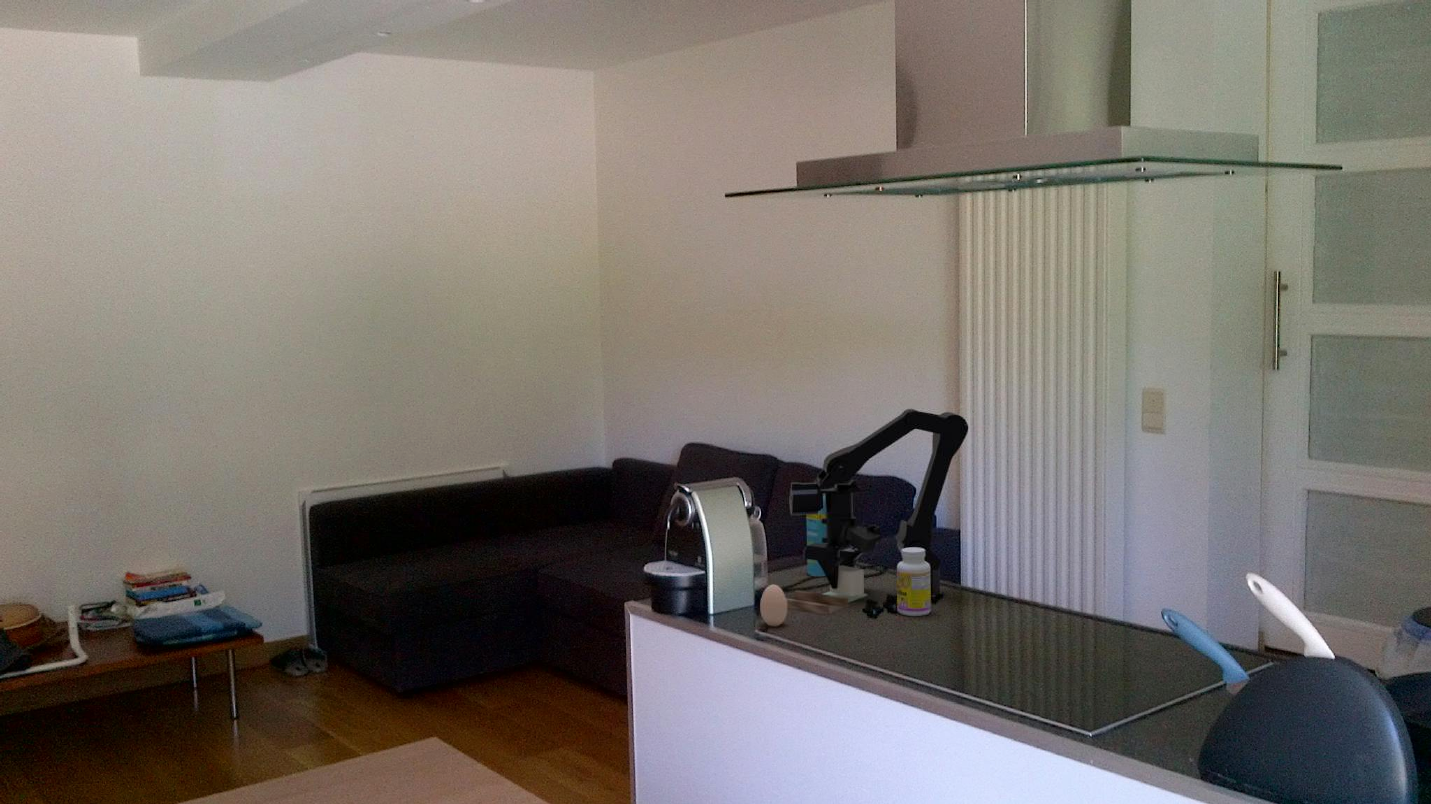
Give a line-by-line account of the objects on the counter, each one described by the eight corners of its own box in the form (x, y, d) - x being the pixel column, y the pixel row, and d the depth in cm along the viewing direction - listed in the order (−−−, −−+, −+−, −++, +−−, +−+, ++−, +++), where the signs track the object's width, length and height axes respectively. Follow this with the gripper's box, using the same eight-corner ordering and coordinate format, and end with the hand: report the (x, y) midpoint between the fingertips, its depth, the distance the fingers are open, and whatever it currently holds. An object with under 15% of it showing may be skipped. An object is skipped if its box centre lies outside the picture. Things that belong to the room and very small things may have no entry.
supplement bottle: (893, 609, 256) (892, 547, 255) (925, 607, 256) (924, 545, 255) (902, 617, 249) (901, 553, 248) (935, 616, 250) (934, 552, 249)
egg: (758, 623, 247) (757, 582, 247) (784, 622, 248) (783, 580, 248) (763, 630, 242) (762, 588, 242) (790, 628, 243) (789, 586, 242)
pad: (867, 596, 267) (866, 594, 267) (845, 604, 261) (845, 601, 261) (835, 592, 272) (835, 589, 272) (814, 599, 266) (814, 596, 266)
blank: (863, 593, 264) (863, 569, 264) (850, 596, 261) (850, 572, 261) (842, 588, 269) (842, 565, 268) (829, 591, 266) (829, 568, 266)
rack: (848, 607, 258) (848, 598, 258) (826, 616, 252) (826, 606, 252) (797, 599, 266) (796, 590, 266) (774, 607, 260) (774, 597, 260)
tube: (799, 574, 291) (797, 491, 289) (813, 570, 294) (812, 488, 292) (823, 578, 285) (821, 494, 284) (837, 575, 289) (836, 491, 287)
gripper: (846, 524, 253) (848, 600, 254) (895, 510, 267) (896, 582, 268) (801, 518, 260) (802, 593, 261) (851, 505, 274) (852, 576, 275)
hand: (840, 586), depth 266 cm, fingers closed on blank, 4 cm apart
